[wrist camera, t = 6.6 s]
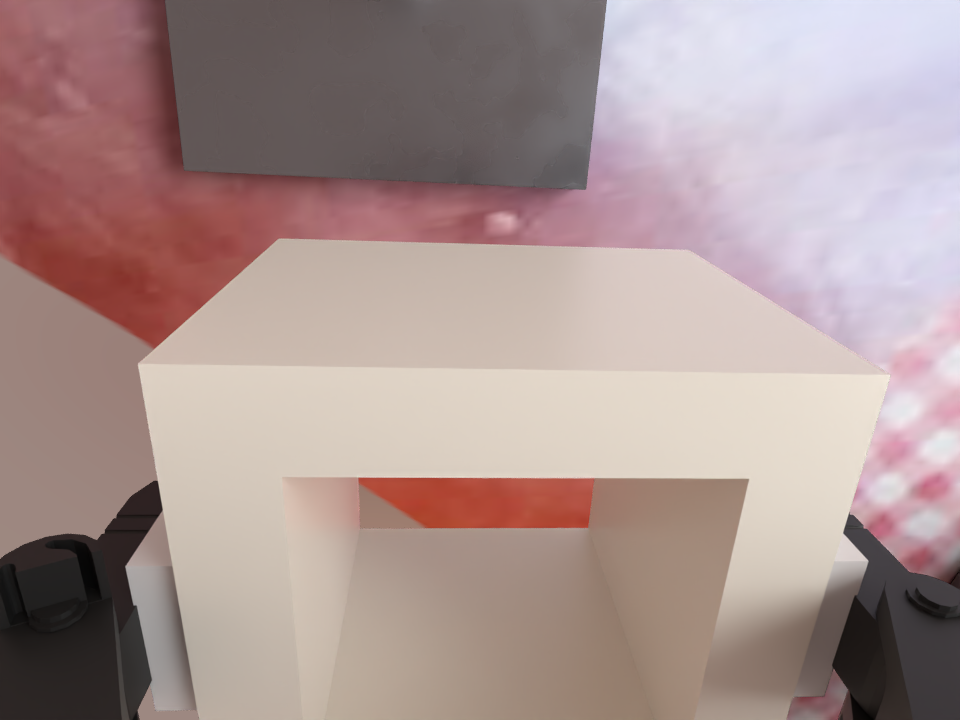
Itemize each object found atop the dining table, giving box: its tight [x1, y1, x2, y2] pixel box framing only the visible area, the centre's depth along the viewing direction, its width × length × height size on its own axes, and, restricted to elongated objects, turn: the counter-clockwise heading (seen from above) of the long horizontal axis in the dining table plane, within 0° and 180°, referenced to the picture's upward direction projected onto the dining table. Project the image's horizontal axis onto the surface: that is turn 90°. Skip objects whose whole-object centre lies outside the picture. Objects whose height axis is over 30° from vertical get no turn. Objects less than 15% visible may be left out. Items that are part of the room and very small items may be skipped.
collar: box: [138, 239, 891, 720], centre depth 13 cm, size 9×9×7 cm
